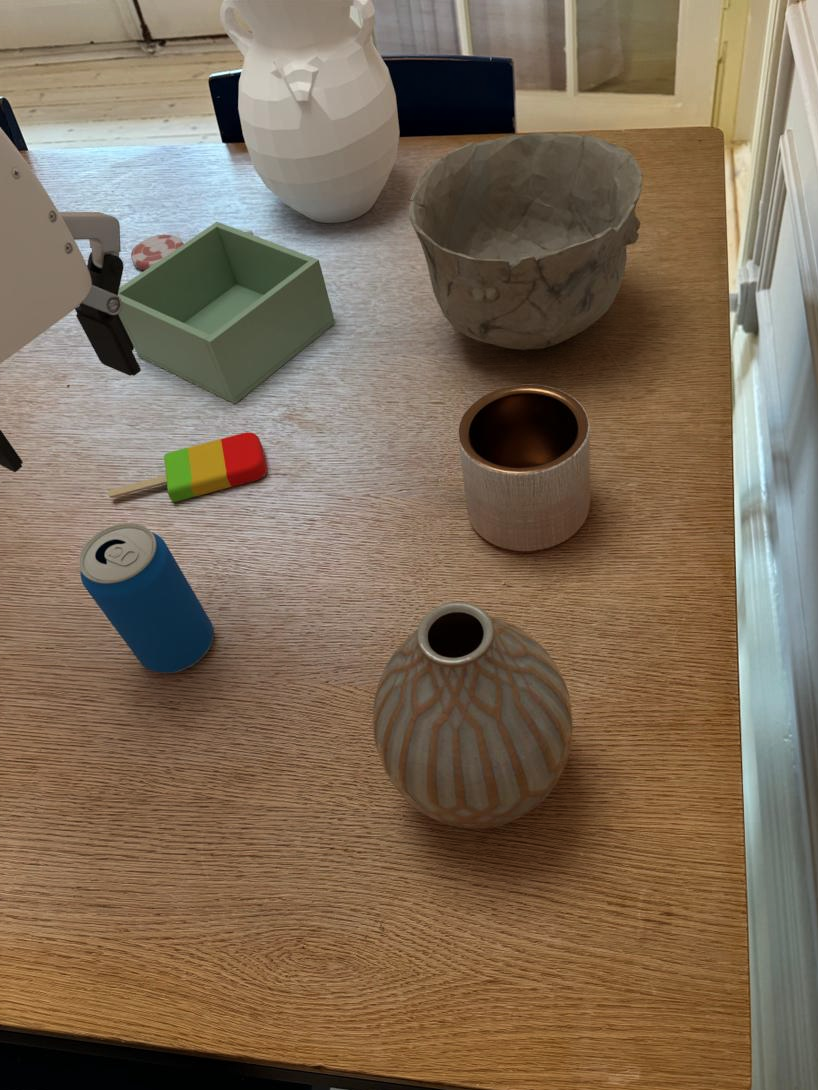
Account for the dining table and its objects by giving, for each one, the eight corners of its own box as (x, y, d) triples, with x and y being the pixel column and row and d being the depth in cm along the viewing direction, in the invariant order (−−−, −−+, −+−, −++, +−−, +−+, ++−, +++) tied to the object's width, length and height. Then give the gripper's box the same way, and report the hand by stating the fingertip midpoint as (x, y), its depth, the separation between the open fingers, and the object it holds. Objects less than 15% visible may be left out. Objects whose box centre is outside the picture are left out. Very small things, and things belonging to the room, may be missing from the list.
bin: (138, 356, 97) (108, 295, 91) (238, 283, 104) (216, 221, 97) (235, 404, 91) (210, 341, 85) (335, 323, 97) (319, 259, 91)
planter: (571, 455, 82) (570, 370, 74) (605, 540, 76) (608, 457, 68) (457, 481, 81) (444, 398, 74) (482, 568, 75) (471, 488, 67)
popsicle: (270, 478, 84) (264, 464, 82) (113, 521, 83) (104, 507, 81) (262, 441, 87) (256, 427, 86) (111, 482, 86) (103, 467, 84)
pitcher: (427, 166, 115) (395, -69, 95) (388, 246, 105) (341, 2, 85) (295, 163, 119) (236, -64, 99) (245, 239, 109) (167, 5, 89)
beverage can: (171, 605, 76) (111, 508, 66) (232, 628, 74) (179, 532, 64) (124, 663, 73) (53, 570, 63) (185, 689, 71) (122, 597, 61)
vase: (380, 717, 68) (327, 573, 53) (545, 676, 68) (536, 522, 54) (411, 878, 60) (358, 760, 46) (596, 830, 61) (601, 698, 46)
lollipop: (253, 242, 106) (129, 268, 105) (255, 251, 107) (133, 276, 106) (249, 215, 110) (130, 239, 109) (252, 223, 111) (133, 248, 110)
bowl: (449, 413, 87) (428, 274, 75) (413, 289, 100) (390, 153, 87) (664, 366, 88) (678, 223, 76) (602, 250, 101) (605, 110, 88)
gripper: (-12, 35, 46) (125, 319, 60) (-327, 198, 38) (-86, 481, 52) (84, 57, 43) (204, 351, 57) (-235, 239, 36) (-6, 526, 49)
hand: (65, 413), depth 55 cm, fingers open, 9 cm apart
